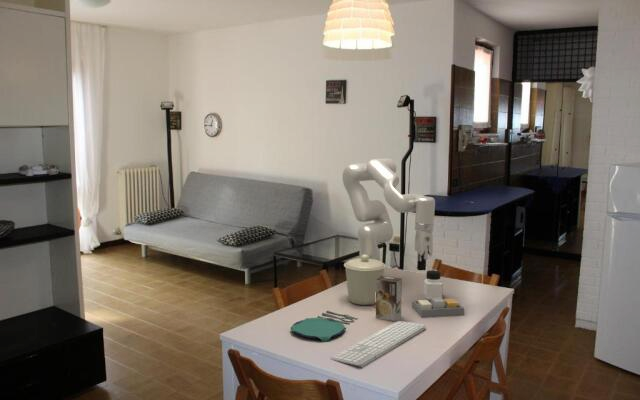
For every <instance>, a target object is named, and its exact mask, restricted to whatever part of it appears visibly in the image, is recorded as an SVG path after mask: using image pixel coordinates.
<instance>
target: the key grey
mask: <svg viewBox="0 0 640 400" xmlns="http://www.w3.org/2000/svg"><path fill="white" fill-rule="evenodd" d="M443 299H444V298H443V297H442V298H440V297H431V299H430V300H431V304H432V305H433V306H434V307H435V308H436V309H439V308H445V301H444V300H443Z"/></svg>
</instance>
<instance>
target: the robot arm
mask: <svg viewBox="0 0 640 400" xmlns="http://www.w3.org/2000/svg"><path fill="white" fill-rule="evenodd" d="M396 172H397V164H396V162H395V161H394V160H393V159H391V158H387V157H384V158H373V159H371V160H369V161H368V162H355V163H350V164H348V165H346V166H345V168H344V169H343V172H342V184H343V186H344V189H345V190H346V193H347V194H348V197H349V200H350V204H351V207H352V210H353V213H354V217H355V219H356V220H357V221H358V222H361V223H365V224H363V225H361V226H360V227H359V228H358V230H357V240H358V245H359V247H358V249H359V258H361V256H362V255H363V254H366V255H368V256H369V259H376V260H379V261H381V251H380V249H379V247H378V244H381V243H385V242H389V241H390V240H392V239H393V236H394V229H393V225H392V222H391V219H390V215H389V212H388V208H387V207H386V205H385V204H384V202H383V201H381V200H378V199H372V200H371V199H370V198H369V195H368V192H367V190H366V188H365V187H364V186H363V185H362V184H361V183H360V182H366V181H367V182H368V181H374V182H376V183H377V185H379V186H380V188H381V189H382V190H383V196H384V199H385V202H386V203H387V204H388V205H389V206H390V208H392V209H393V210H394V211H396V212H398V213H400V214H401V213H402V214H404V213H411V212H413V213H414V212H415V218H414V231H415V237H414V251H416V254H417V264H416V269H417V270H418V271H426V270H427V268H426V267H427V260H428V259H429V256H433V249H434V248H433V247H434V245H433V244H434V243H433V241H434V239H433V237H434V236H433V235H434V234H433V232H434V223H435V209H436V200H435V197H432V196H425V195H423V194H421V193H406V194H401V193H400V192H399V191H398V190H397V189H396V188H397V187H398V185H399V183H400V177H399V175H397V173H396ZM372 221H373V222H372ZM366 222H369V223H366ZM370 222H371V223H370Z"/></svg>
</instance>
